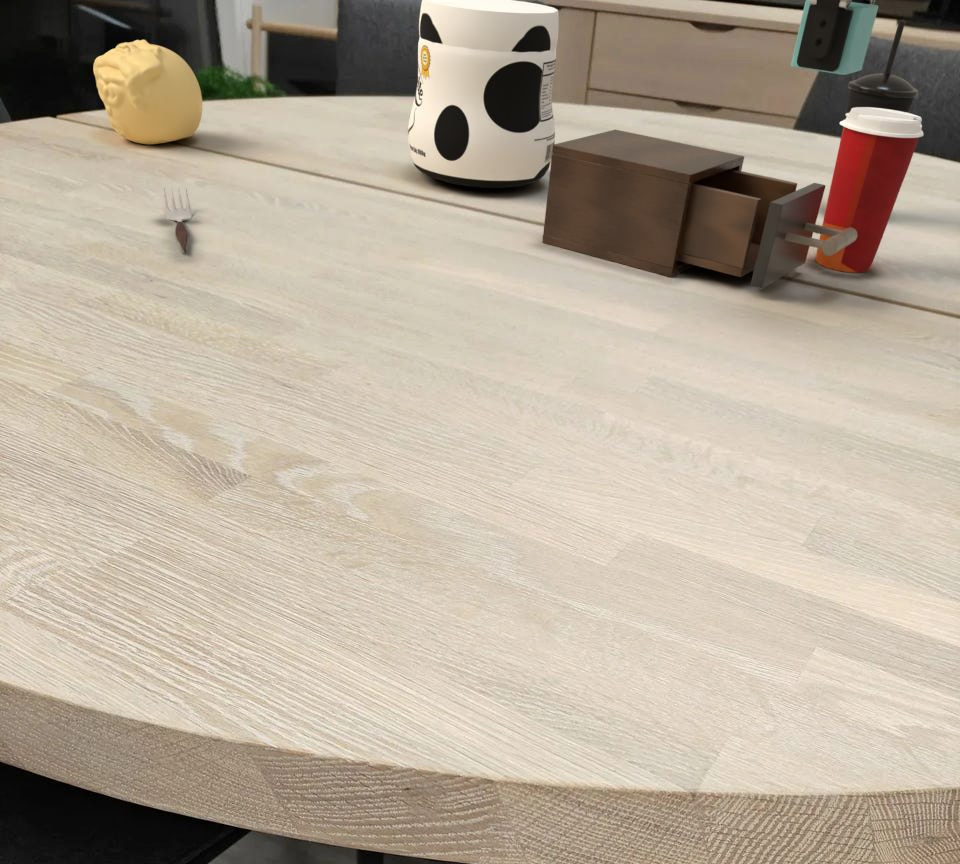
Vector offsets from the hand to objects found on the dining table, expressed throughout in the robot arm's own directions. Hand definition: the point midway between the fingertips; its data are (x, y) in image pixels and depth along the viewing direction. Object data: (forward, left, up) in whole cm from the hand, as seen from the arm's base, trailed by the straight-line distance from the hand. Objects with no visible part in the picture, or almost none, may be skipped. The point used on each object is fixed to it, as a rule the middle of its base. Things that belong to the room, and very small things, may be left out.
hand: (827, 63), depth 78 cm
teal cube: (0, 0, 0) cm, 0 cm away
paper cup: (-10, -17, -20) cm, 28 cm away
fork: (+55, -5, -20) cm, 59 cm away
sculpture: (+70, -41, -20) cm, 84 cm away
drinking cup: (-16, -39, -19) cm, 47 cm away
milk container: (+29, -37, -20) cm, 51 cm away
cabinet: (+11, -15, -19) cm, 27 cm away
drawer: (+1, -9, -18) cm, 21 cm away
